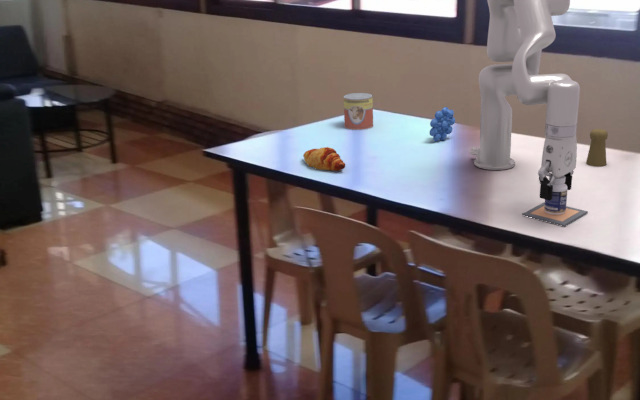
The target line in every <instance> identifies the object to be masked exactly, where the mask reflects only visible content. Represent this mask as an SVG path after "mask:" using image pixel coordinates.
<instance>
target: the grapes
mask: <svg viewBox="0 0 640 400" xmlns="http://www.w3.org/2000/svg"><path fill="white" fill-rule="evenodd" d="M454 115H455V112H454V110H453V109H449V107H447V106H445V107H442V109H441V110H437V111H436V112H435V113H434V118H433V119H431V120H430V122H429V126H430V127H431V128H430V130H429V135H430V136H431V137H432V139H433V141H434V142H438V141H445V140H446V139H447V137H448V135H451V134H452V132H453V129H454V128H453V127H452V126H454V125H455V123H456V118H455V117H454Z"/></svg>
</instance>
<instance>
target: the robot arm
mask: <svg viewBox="0 0 640 400" xmlns="http://www.w3.org/2000/svg"><path fill="white" fill-rule="evenodd" d="M486 1H487V5H488V9H489V23H488V32H487V42H486V43H487V44H486V52H487V53H486V54H487V58H488V59H489V60H491V61H492V62H495V63H497V62H498V63H499V64H498V63H497V64H491V65H488V66H485V67H484V68H482V69H481V70H480V72H479V75H478V86H479V87H478V88H479V93H480V134H479V148H478V147H474V146H472V147H471V149H470V152H469V154H470V155H471V156H476V158H475V159H474V160H473V161H474V163H473V164H474V165H475V166H476V167H477V168H480V169H484V170H488V171H502V170H509V169H513V167H515V166H516V161H515V159H513V158H511V149H512V128H513V108H512V106H511V105H510V103H509V102H508V100H507V99H506V97H509V96H516V97H517V99H518V101H519V102H520V103H521V104H522V105H525V106H526V105H527V106H534V105H535V106H536V105H537V106H538V105H546V109H545V110H546V111H545V127H544V137H545V139H544V143H543V148H542V155H541V167H540V168H539V169H538V171H537V176H538V182H539V185H540V186H539V198H540V199H543V200H545V199H546V200H552V193H553V185H552V182H553V180H554V178H555V176H556V177H557V178H559V177H562V176H565V177H566V178H565V183H564V184H566V185H567V191H570V190H572V184H573V183H572V181H573V175H574V171H575V169H576V168H577V156H578V155H577V154H578V153H577V152H578V150H577V149H578V147H577V146H578V141H577V127H578V115H579V105H580V104H579V103H580V92H581V87H580V84H579V82H577V81H575V80H572V78H571V77H570V76H569V75H568V74H566V73H547V74H546V73H545V74H539V71H540V64H541V59H542V57H541V56H542V50H543V49H546V48H547V47H548V46H550V45H551V44H552V43H553V42H554V41H555V40H556V36H557V35H556V30H555V26H554V24H553V19H552V17H554V16H555V17H557V16H563V15H565V14H566V13H567V12H568V11H569V8H570V5H571V0H486ZM505 62H506V63H505ZM508 62H509V63H508ZM511 62H512V63H511ZM549 177H550V179H549Z"/></svg>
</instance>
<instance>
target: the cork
mask: <svg viewBox="0 0 640 400" xmlns="http://www.w3.org/2000/svg"><path fill="white" fill-rule="evenodd" d="M608 137H609V135H608V131H607V130H606V129H604V128H603V129H602V128H594V129H592V130H591V131H590V133H589V138H590V140H591V141H590V144H589V148H588V149H589V150H588V154H587V157H586V162H585V164H586V165H587V166H590V167H598V168H599V167H605V166H607V147H606V144H607V143H606V140H607V139H608Z"/></svg>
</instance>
